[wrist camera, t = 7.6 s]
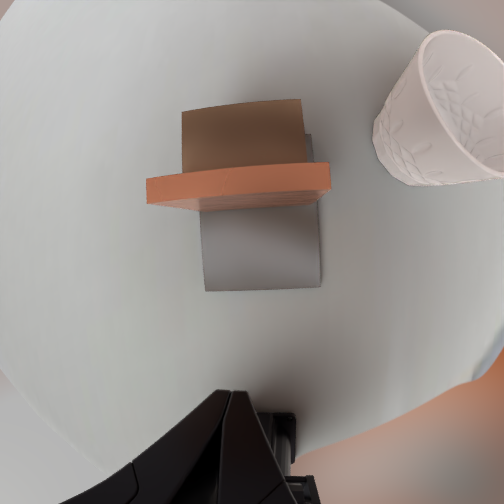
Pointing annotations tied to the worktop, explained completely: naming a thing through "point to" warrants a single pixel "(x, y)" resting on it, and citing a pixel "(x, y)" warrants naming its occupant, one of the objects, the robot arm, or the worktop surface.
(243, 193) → the copper wooden slab
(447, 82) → the white cup
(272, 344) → the worktop surface
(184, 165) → the bearing block
